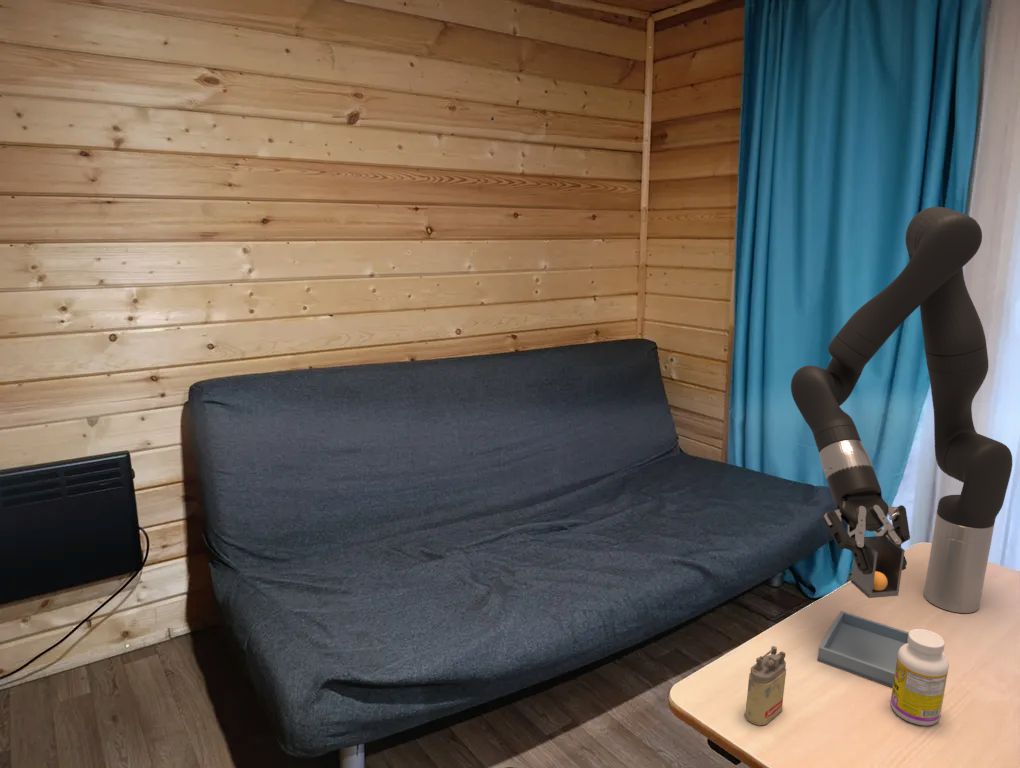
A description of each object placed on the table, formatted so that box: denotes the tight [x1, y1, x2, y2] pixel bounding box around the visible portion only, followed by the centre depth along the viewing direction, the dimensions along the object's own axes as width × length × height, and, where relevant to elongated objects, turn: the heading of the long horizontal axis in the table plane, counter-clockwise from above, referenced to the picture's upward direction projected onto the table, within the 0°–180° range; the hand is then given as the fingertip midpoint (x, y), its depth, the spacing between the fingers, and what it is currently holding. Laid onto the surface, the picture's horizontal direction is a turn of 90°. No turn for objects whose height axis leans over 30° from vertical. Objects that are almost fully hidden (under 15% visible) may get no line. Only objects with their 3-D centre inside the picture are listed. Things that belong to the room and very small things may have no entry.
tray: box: [817, 610, 910, 688], centre depth 125 cm, size 14×12×2 cm
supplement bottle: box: [890, 628, 950, 726], centre depth 110 cm, size 7×7×13 cm
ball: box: [873, 571, 888, 591], centre depth 118 cm, size 3×3×3 cm
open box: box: [850, 535, 906, 599], centre depth 118 cm, size 5×5×8 cm
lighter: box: [744, 645, 787, 726], centre depth 110 cm, size 7×4×10 cm, turn 130°
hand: (884, 571), depth 117 cm, fingers closed on open box, 5 cm apart
